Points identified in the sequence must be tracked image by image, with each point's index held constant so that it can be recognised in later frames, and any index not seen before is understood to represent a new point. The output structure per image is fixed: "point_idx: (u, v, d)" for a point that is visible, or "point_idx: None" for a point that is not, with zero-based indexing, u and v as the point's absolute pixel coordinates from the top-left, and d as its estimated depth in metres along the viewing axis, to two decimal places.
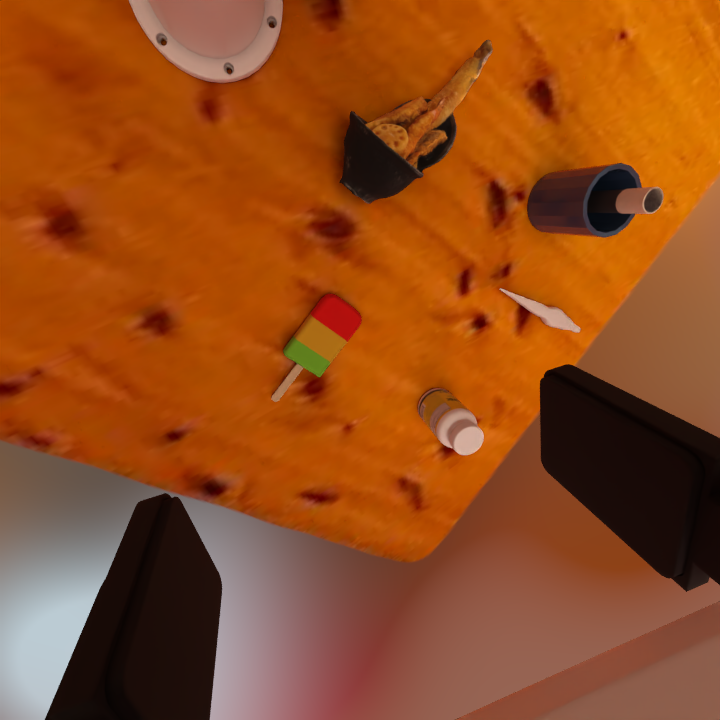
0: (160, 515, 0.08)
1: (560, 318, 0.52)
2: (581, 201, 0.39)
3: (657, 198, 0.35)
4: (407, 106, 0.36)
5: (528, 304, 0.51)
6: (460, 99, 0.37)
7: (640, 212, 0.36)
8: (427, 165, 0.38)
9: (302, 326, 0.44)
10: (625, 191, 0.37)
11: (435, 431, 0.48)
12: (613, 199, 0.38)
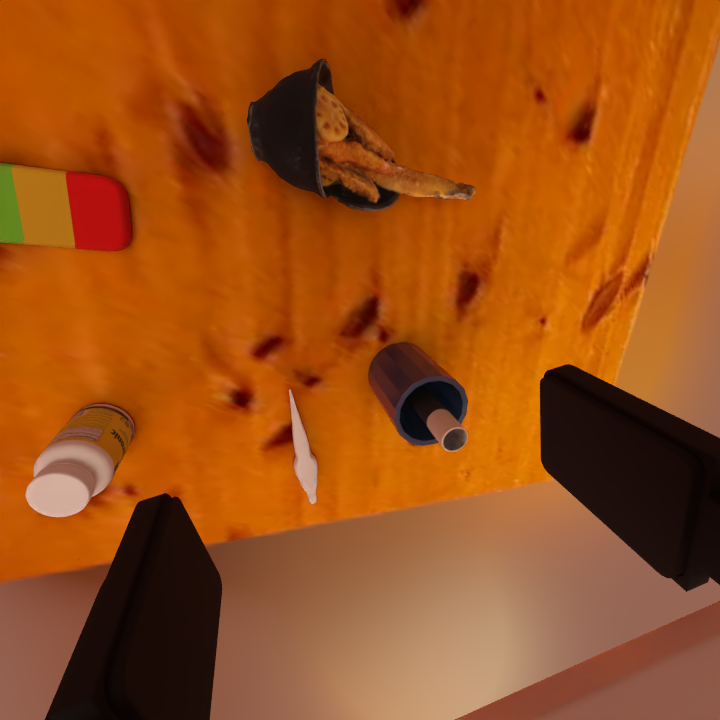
0: (160, 515, 0.08)
1: (309, 473, 0.42)
2: (412, 382, 0.33)
3: (458, 442, 0.30)
4: (373, 133, 0.29)
5: (297, 431, 0.41)
6: (415, 193, 0.32)
7: (438, 439, 0.31)
8: (337, 196, 0.30)
9: (41, 168, 0.28)
10: (445, 411, 0.32)
11: (45, 448, 0.30)
12: (432, 408, 0.33)
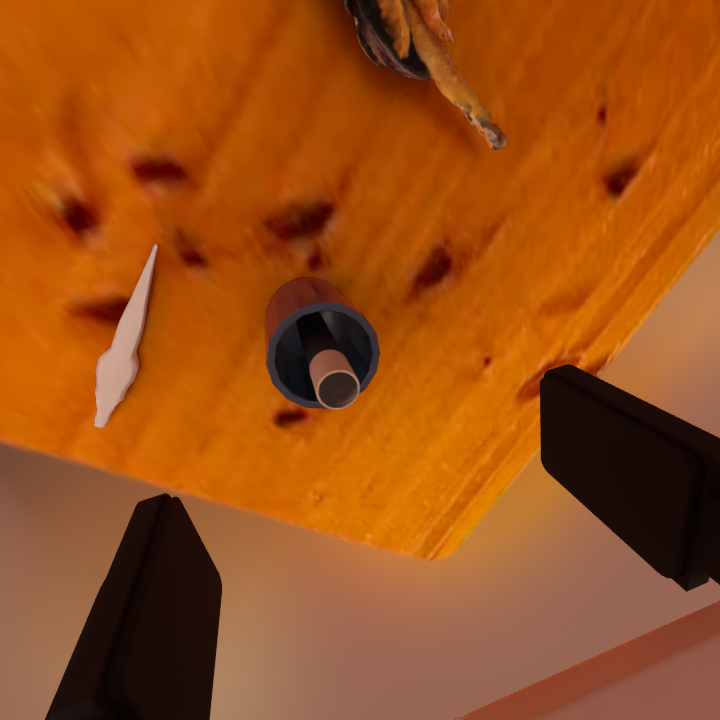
0: (160, 515, 0.08)
1: (116, 379, 0.28)
2: (321, 301, 0.23)
3: (341, 397, 0.20)
4: None
5: (133, 309, 0.27)
6: (447, 90, 0.24)
7: (316, 379, 0.20)
8: (360, 2, 0.21)
9: None
10: (344, 357, 0.22)
11: None
12: (329, 347, 0.22)
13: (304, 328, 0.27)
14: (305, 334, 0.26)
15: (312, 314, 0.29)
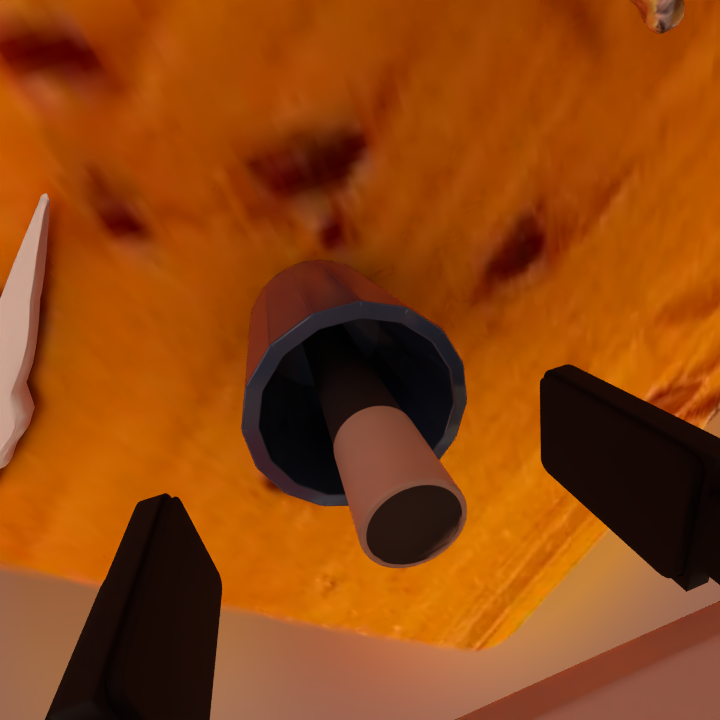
0: (160, 515, 0.08)
1: None
2: (358, 299, 0.11)
3: (421, 540, 0.08)
4: None
5: (9, 312, 0.15)
6: None
7: (358, 496, 0.08)
8: None
9: None
10: None
11: None
12: (376, 399, 0.10)
13: (316, 348, 0.15)
14: (319, 361, 0.14)
15: None
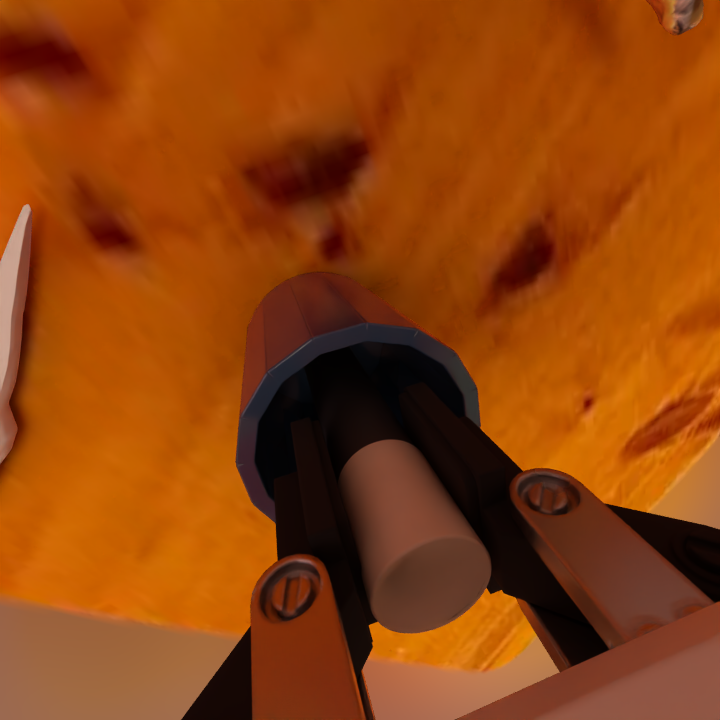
0: (315, 429, 0.09)
1: None
2: (363, 321, 0.10)
3: (441, 603, 0.07)
4: None
5: None
6: None
7: (367, 552, 0.07)
8: None
9: None
10: (425, 459, 0.09)
11: None
12: (384, 431, 0.09)
13: (317, 367, 0.14)
14: (320, 382, 0.13)
15: None
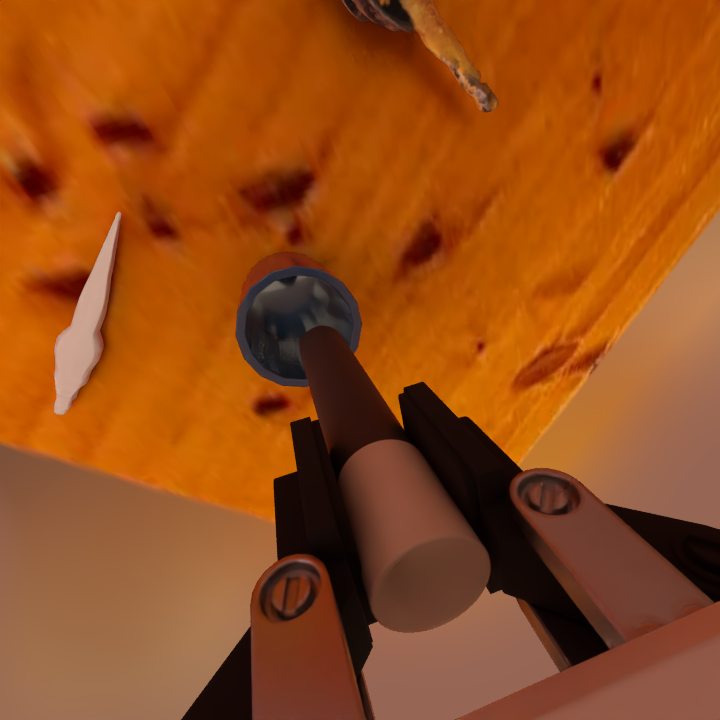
0: (314, 430, 0.09)
1: (77, 360, 0.26)
2: (295, 266, 0.21)
3: (439, 602, 0.07)
4: None
5: (95, 283, 0.25)
6: (432, 43, 0.23)
7: (367, 552, 0.07)
8: None
9: None
10: (425, 459, 0.09)
11: None
12: (383, 431, 0.09)
13: (317, 367, 0.14)
14: (320, 382, 0.13)
15: (329, 338, 0.16)
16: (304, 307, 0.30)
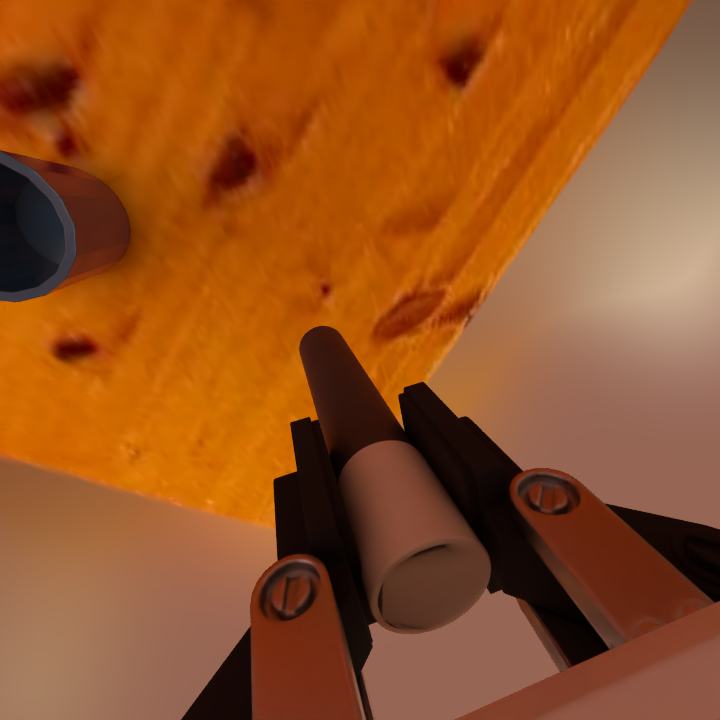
0: (314, 430, 0.09)
1: None
2: None
3: (440, 604, 0.07)
4: None
5: None
6: None
7: (367, 553, 0.07)
8: None
9: None
10: (425, 460, 0.09)
11: None
12: (384, 431, 0.09)
13: (317, 368, 0.14)
14: (320, 383, 0.13)
15: (329, 338, 0.16)
16: None
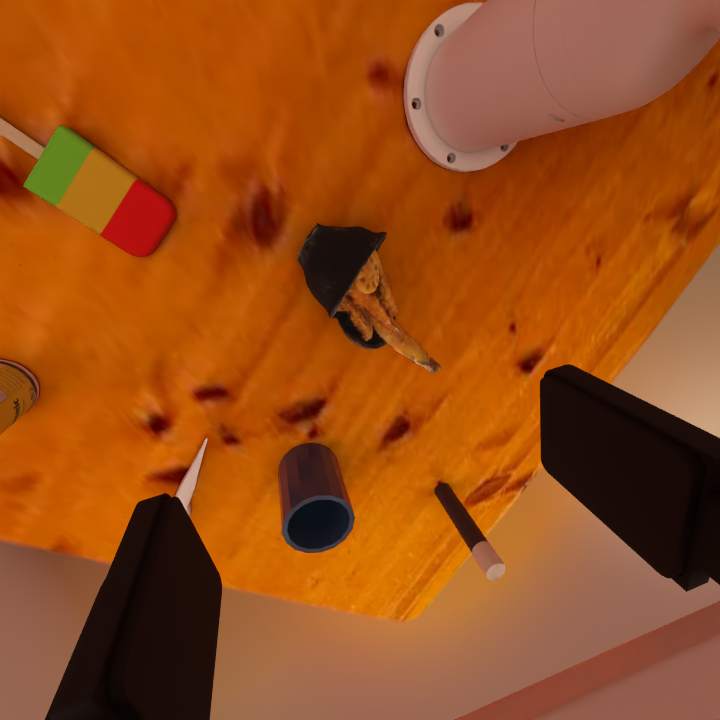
0: (160, 515, 0.08)
1: None
2: (316, 493, 0.36)
3: (497, 574, 0.40)
4: (391, 295, 0.35)
5: (190, 478, 0.41)
6: (398, 349, 0.38)
7: (484, 566, 0.40)
8: (340, 322, 0.35)
9: (116, 163, 0.30)
10: None
11: None
12: (481, 538, 0.43)
13: (451, 509, 0.47)
14: (455, 516, 0.46)
15: (450, 493, 0.49)
16: None
